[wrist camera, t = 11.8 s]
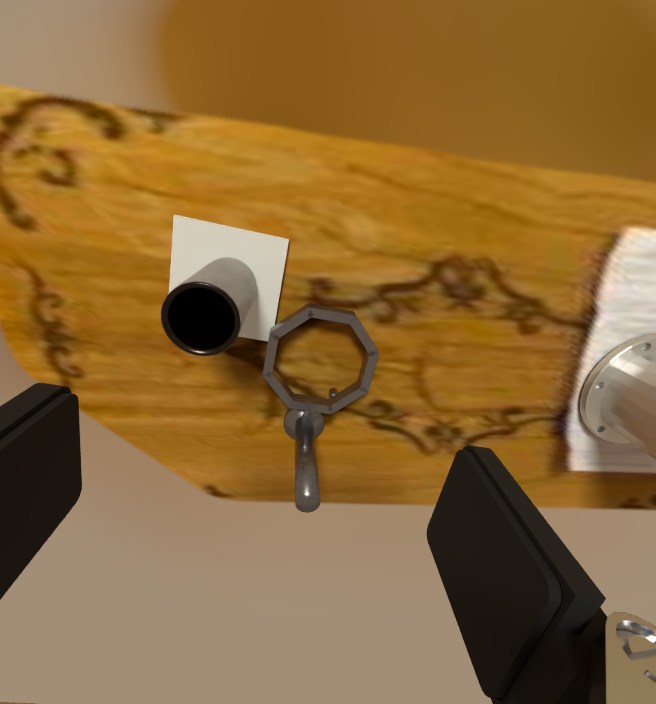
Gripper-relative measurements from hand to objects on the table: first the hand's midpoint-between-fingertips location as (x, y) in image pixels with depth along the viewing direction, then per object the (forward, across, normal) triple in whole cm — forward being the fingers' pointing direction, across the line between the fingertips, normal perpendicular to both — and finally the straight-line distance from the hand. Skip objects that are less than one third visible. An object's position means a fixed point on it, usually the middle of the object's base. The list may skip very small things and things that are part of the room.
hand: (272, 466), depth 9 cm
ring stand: (+24, -3, +8) cm, 26 cm away
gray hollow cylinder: (+24, +6, +1) cm, 24 cm away
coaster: (+24, +6, +1) cm, 25 cm away
